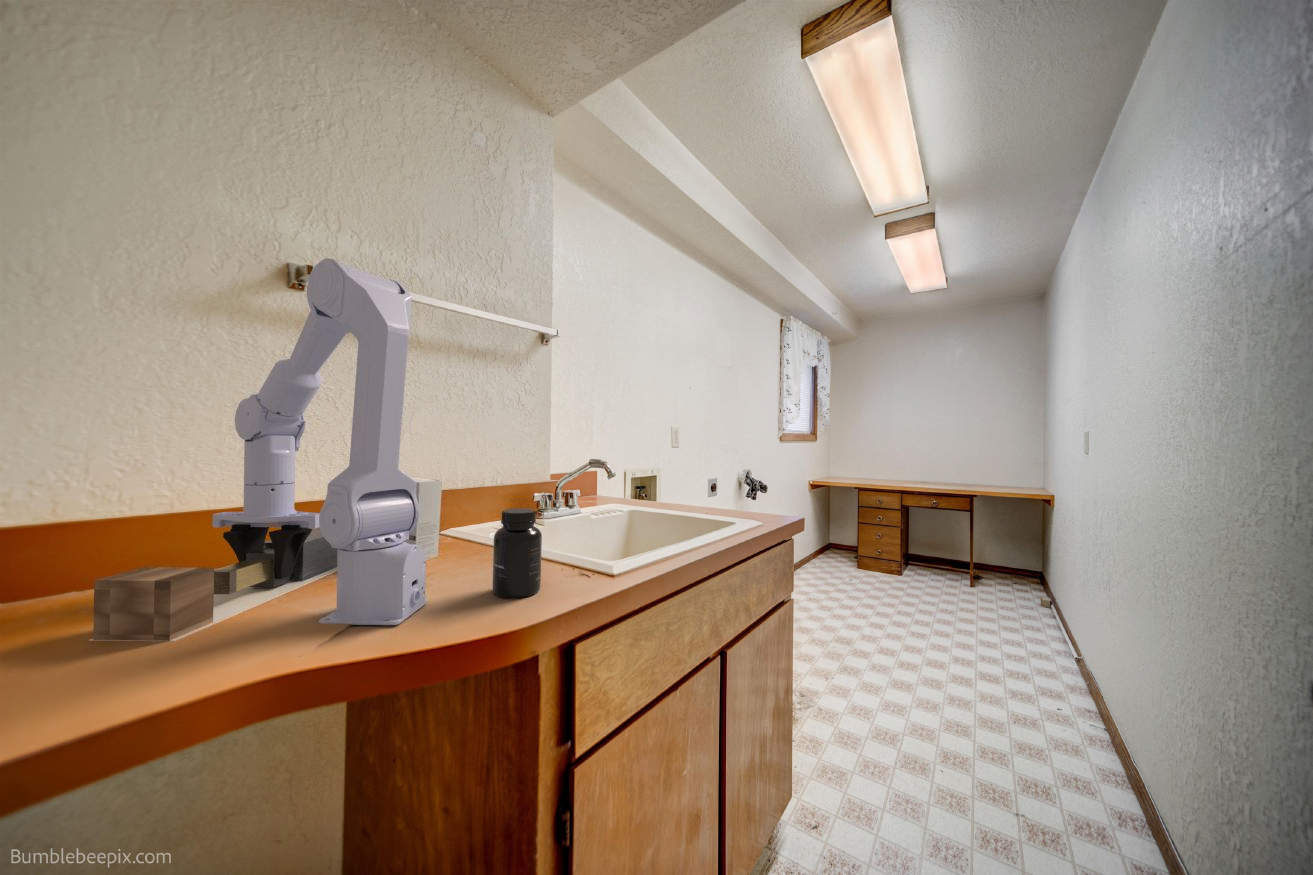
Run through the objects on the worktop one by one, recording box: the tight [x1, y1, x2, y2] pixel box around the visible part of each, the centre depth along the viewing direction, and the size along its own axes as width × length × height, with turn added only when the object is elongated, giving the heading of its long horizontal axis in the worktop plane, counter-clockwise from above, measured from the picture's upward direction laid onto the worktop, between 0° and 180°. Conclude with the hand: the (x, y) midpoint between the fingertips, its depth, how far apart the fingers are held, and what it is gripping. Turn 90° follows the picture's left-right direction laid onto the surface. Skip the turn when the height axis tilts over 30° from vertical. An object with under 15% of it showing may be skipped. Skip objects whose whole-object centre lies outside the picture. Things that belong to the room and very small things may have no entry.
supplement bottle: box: [492, 507, 543, 599], centre depth 69 cm, size 7×7×12 cm
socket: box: [92, 566, 215, 642], centre depth 52 cm, size 8×5×6 cm, turn 91°
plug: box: [214, 548, 295, 595], centre depth 69 cm, size 4×19×5 cm, turn 1°
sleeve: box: [263, 528, 337, 581], centre depth 76 cm, size 6×10×6 cm, turn 1°
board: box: [88, 567, 337, 642], centre depth 65 cm, size 9×31×1 cm, turn 1°
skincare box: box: [404, 476, 443, 561], centre depth 85 cm, size 8×6×15 cm
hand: (268, 576), depth 68 cm, fingers closed on plug, 4 cm apart
